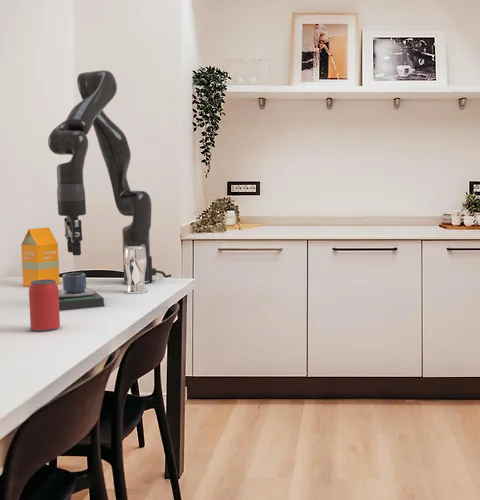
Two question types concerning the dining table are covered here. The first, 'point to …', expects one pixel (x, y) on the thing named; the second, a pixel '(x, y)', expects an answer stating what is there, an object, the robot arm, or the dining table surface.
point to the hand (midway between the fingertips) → (74, 253)
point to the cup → (74, 282)
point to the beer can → (44, 305)
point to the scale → (81, 302)
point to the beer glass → (135, 268)
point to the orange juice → (39, 256)
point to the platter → (87, 292)
